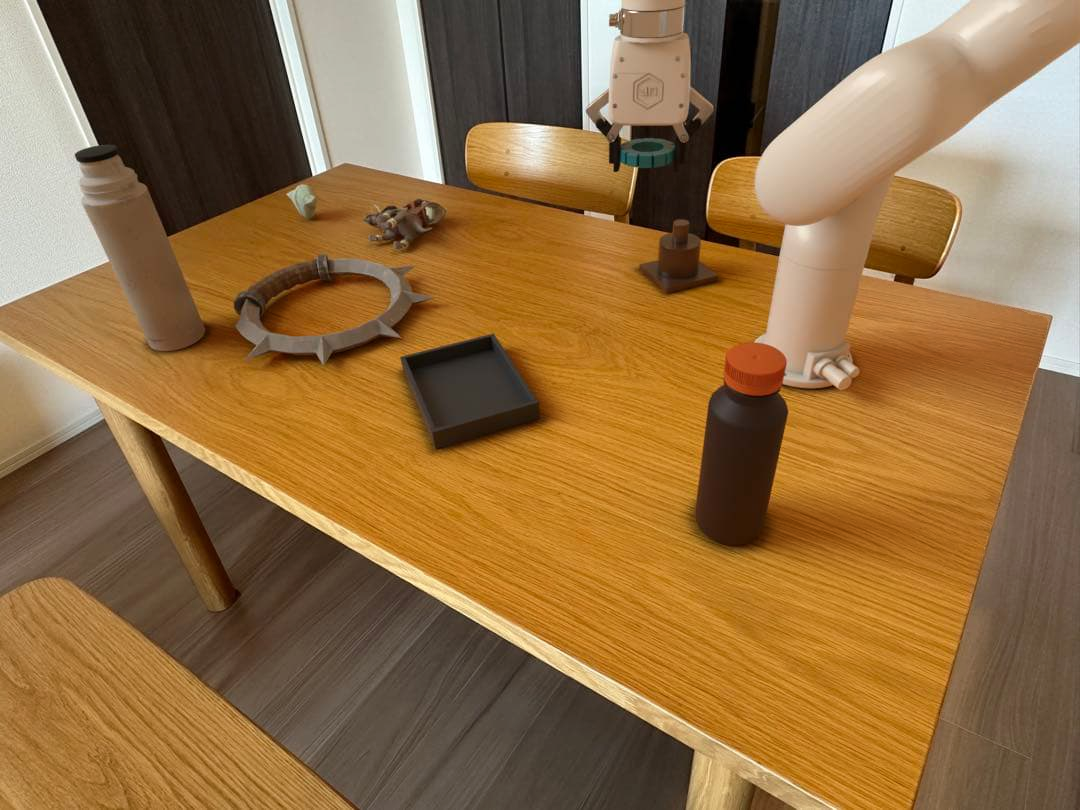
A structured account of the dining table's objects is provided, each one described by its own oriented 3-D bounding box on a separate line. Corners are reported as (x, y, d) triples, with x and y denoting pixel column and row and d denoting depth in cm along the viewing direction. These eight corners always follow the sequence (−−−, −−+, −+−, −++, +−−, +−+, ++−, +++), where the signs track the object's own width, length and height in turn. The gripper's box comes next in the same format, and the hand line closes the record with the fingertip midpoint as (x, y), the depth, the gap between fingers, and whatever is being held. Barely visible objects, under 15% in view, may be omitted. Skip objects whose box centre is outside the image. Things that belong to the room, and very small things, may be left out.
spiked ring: (183, 336, 104) (311, 411, 90) (173, 310, 101) (302, 383, 87) (353, 252, 124) (479, 301, 110) (348, 228, 122) (477, 276, 107)
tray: (539, 419, 85) (538, 402, 83) (435, 449, 81) (431, 432, 80) (495, 348, 97) (493, 333, 96) (403, 372, 94) (400, 356, 92)
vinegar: (762, 553, 67) (799, 386, 54) (691, 540, 68) (711, 376, 56) (764, 502, 72) (798, 340, 59) (697, 492, 73) (717, 332, 61)
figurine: (334, 211, 127) (396, 181, 138) (343, 242, 130) (402, 211, 141) (417, 223, 117) (476, 190, 128) (424, 257, 120) (481, 222, 132)
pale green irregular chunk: (289, 217, 139) (280, 184, 135) (306, 210, 142) (297, 178, 138) (314, 226, 135) (305, 192, 131) (331, 218, 138) (322, 185, 133)
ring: (684, 162, 92) (685, 150, 91) (634, 171, 90) (634, 159, 89) (658, 146, 98) (659, 135, 97) (610, 155, 96) (610, 143, 95)
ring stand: (717, 281, 109) (723, 227, 104) (666, 293, 107) (670, 239, 101) (687, 258, 116) (691, 206, 110) (639, 269, 114) (641, 217, 108)
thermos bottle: (138, 343, 104) (46, 155, 87) (183, 318, 109) (105, 136, 92) (171, 356, 100) (82, 163, 83) (216, 330, 106) (141, 143, 88)
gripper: (576, 31, 83) (579, 178, 93) (726, 27, 80) (711, 179, 90) (584, 20, 88) (586, 159, 99) (725, 15, 85) (711, 160, 96)
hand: (646, 168), depth 95 cm, fingers closed on ring, 7 cm apart
